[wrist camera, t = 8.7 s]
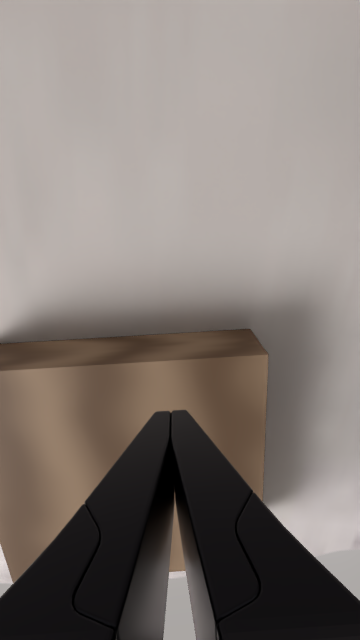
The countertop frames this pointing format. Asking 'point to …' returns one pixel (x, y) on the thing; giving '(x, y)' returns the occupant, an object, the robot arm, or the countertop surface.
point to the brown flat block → (115, 420)
